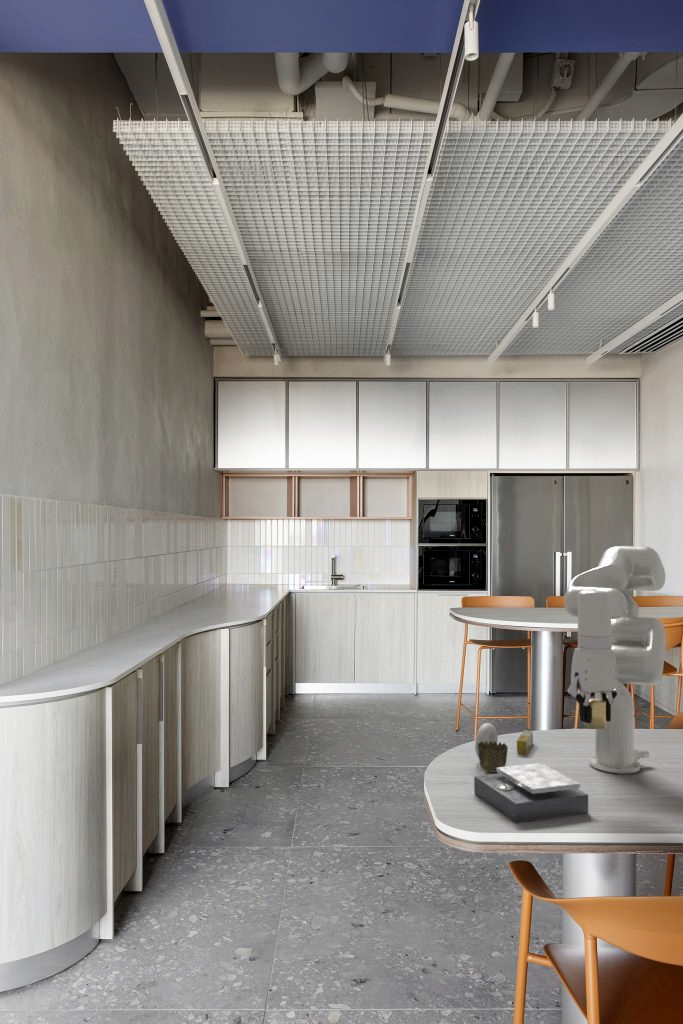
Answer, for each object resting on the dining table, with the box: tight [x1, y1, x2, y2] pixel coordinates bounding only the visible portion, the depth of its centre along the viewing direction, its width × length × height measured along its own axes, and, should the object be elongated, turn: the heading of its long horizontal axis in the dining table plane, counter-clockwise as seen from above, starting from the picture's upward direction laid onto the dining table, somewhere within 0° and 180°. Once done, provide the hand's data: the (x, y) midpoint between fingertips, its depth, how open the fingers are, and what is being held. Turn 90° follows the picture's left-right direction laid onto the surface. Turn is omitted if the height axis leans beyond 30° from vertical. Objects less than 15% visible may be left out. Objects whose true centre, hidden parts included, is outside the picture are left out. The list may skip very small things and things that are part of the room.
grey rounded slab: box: [474, 722, 498, 759], centre depth 190 cm, size 10×3×10 cm, turn 146°
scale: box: [473, 774, 589, 824], centre depth 160 cm, size 18×18×4 cm
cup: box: [478, 741, 509, 775], centre depth 177 cm, size 8×7×8 cm
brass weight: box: [584, 697, 606, 730], centre depth 166 cm, size 5×5×6 cm
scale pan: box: [496, 762, 581, 794], centre depth 160 cm, size 12×15×1 cm
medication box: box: [516, 729, 534, 756], centre depth 201 cm, size 12×3×4 cm, turn 156°
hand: (595, 720), depth 166 cm, fingers closed on brass weight, 4 cm apart
